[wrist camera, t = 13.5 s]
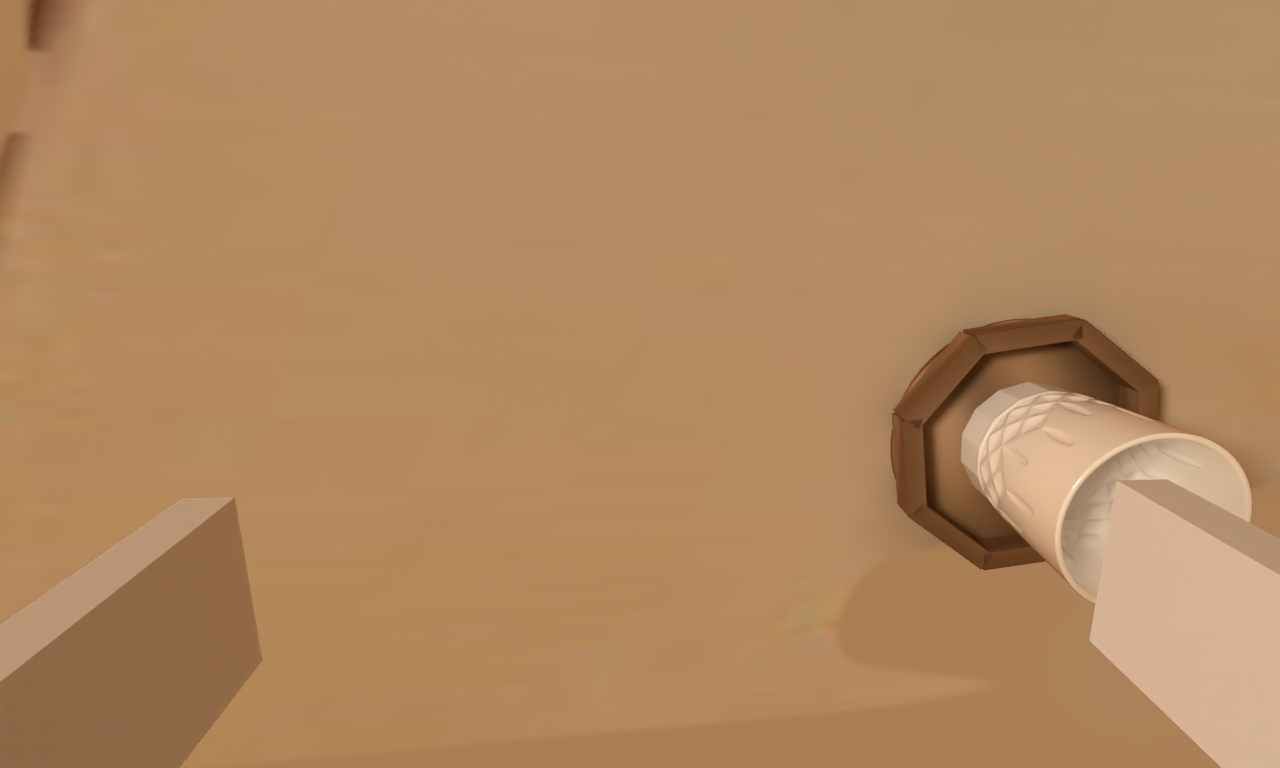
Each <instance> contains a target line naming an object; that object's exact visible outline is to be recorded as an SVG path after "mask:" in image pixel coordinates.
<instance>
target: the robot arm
mask: <svg viewBox="0 0 1280 768" xmlns="http://www.w3.org/2000/svg"><path fill="white" fill-rule="evenodd" d="M1089 641H1090V642H1091V643H1092V644H1094V645H1095V646H1096V647H1097V648H1098V649H1099V650H1100V651H1101V652H1102V653H1103V654H1104V655H1105V656H1106V657H1107V658H1108V659H1109V660H1110V661H1111V662H1112V663H1113V664H1114V665H1115V666H1116V667H1118V669H1119V670H1121V671H1122V672H1123V673H1124V674H1125V675H1126V676H1127V677H1128V678H1129V679H1130V680H1131V681H1132V682H1133V683H1134V684H1135V685H1136V686H1137V687H1138V688H1139V689H1140V690H1141V691H1142V692H1144V693H1145V695H1147V696H1148V697H1149V698H1150V699H1151V700H1152V701H1153V702H1154V703H1155V704H1156V705H1157V706H1158V707H1159V708H1160V709H1161V710H1162V711H1163V712H1164V713H1165V714H1166V715H1167V716H1168V717H1169V718H1171V720H1173V721H1174V722H1175V723H1176V724H1177V725H1178V726H1179V727H1180V728H1181V729H1182V730H1183V731H1184V732H1185V733H1186V734H1187V735H1188V736H1189V737H1190V738H1191V739H1192V740H1193V741H1194V742H1195V743H1196V744H1198V745H1199V746H1200V747H1201V748H1202V749H1203V750H1204V751H1205V752H1206V753H1207V754H1208V755H1209V756H1210V757H1211V758H1212V759H1213V760H1214V761H1215V762H1216V763H1218V765H1219V766H1221V768H1280V539H1279V538H1277V537H1276V536H1274V535H1272V534H1270V533H1268V532H1266V531H1264V530H1262V529H1260V528H1258V527H1257V526H1255V525H1253V524H1251V523H1249V522H1247V521H1245V520H1243V519H1241V518H1240V517H1238V516H1236V515H1234V514H1232V513H1230V512H1228V511H1226V510H1224V509H1222V508H1221V507H1219V506H1217V505H1215V504H1213V503H1211V502H1209V501H1207V500H1205V499H1204V498H1202V497H1200V496H1198V495H1196V494H1194V493H1192V492H1190V491H1188V490H1186V489H1185V488H1183V487H1181V486H1179V485H1177V484H1175V483H1173V482H1171V481H1169V480H1168V479H1154V480H1117V482H1116V488H1115V494H1114V500H1113V506H1112V511H1111V517H1110V523H1109V529H1108V535H1107V540H1106V546H1105V552H1104V558H1103V564H1102V570H1101V575H1100V581H1099V587H1098V593H1097V599H1096V605H1095V611H1094V616H1093V623H1092V628H1091V634H1090V640H1089ZM261 661H262V656H261V650H260V644H259V638H258V632H257V626H256V621H255V615H254V609H253V603H252V597H251V591H250V585H249V579H248V573H247V567H246V562H245V556H244V550H243V544H242V538H241V532H240V526H239V520H238V514H237V509H236V503H235V498H186V499H181V500H179V501H178V502H176V503H175V504H173V505H172V506H170V507H169V508H168V509H166V510H165V511H163V512H162V513H160V514H159V515H158V516H156V517H155V518H153V519H152V520H150V521H149V522H147V523H146V524H145V525H143V526H142V527H140V528H139V529H137V530H136V531H134V532H133V533H132V534H130V535H129V536H127V537H126V538H124V539H123V540H122V541H120V542H119V543H117V544H116V545H114V546H113V547H111V548H110V549H109V550H107V551H106V552H104V553H103V554H101V555H100V556H98V557H97V558H96V559H94V560H93V561H91V562H90V563H88V564H87V565H86V566H84V567H83V568H81V569H80V570H78V571H77V572H75V573H74V574H73V575H71V576H70V577H68V578H67V579H65V580H64V581H63V582H61V583H60V584H58V585H57V586H55V587H54V588H52V589H51V590H50V591H48V592H47V593H45V594H44V595H42V596H41V597H39V598H38V599H37V600H35V601H34V602H32V603H31V604H29V605H28V606H27V607H25V608H24V609H22V610H21V611H19V612H18V613H16V614H15V615H14V616H12V617H11V618H9V619H8V620H6V621H5V622H3V623H2V624H1V625H0V768H180V766H181V765H182V764H183V762H184V761H185V760H186V759H187V757H188V756H189V755H190V753H191V752H192V751H193V750H194V748H195V747H196V746H197V744H198V743H199V742H200V740H201V739H202V738H203V737H204V735H205V734H206V733H207V731H208V730H209V729H210V727H211V726H212V725H213V724H214V722H215V721H216V720H217V718H218V717H219V716H220V714H221V713H222V712H223V711H224V709H225V708H226V707H227V705H228V704H229V703H230V701H231V700H232V699H233V698H234V696H235V695H236V694H237V692H238V691H239V690H240V689H241V687H242V686H243V685H244V683H245V682H246V681H247V679H248V678H249V677H250V676H251V674H252V673H253V672H254V670H255V669H256V668H257V666H258V665H259V664H260V663H261Z"/></svg>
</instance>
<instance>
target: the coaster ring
mask: <svg viewBox="0 0 1280 768" xmlns="http://www.w3.org/2000/svg"><path fill="white" fill-rule="evenodd" d="M1157 381H1158V380H1157V379H1156V378H1155V377H1154V376H1152V375H1151V374H1150V373H1149V372H1148V371H1146V370H1145V369H1144V368H1143V367H1142V366H1140V365H1139V364H1138V363H1137V362H1136V361H1134V360H1133V359H1132V358H1131V357H1130V356H1128V355H1127V354H1126V353H1125V352H1124V351H1122V350H1121V349H1120V348H1119V347H1118V346H1116V345H1115V344H1114V343H1113V342H1112V341H1110V340H1109V339H1108V338H1107V337H1106V336H1104V335H1103V334H1102V333H1101V332H1100V331H1099V330H1097V329H1096V328H1095V327H1094V326H1093V325H1091V324H1090V323H1089V322H1088V321H1087V320H1084V319H1080V318H1077V317H1073V316H1069V315H1066V314H1063V315H1057V316H1050V317H1043V318H1037V319H1014V320H1006V321H1001V322H996V323H992V324H989V325H986V326H983V327H978V328H972V329H965V330H963V332H959V333H958V335H957V336H956V337H955V338H954V339H953V340H952V342H951V343H950V344H948V345H947V346H945V347H944V348H943V349H942V350H940V351H939V352H938V353H937V354H936V355H934V356H933V357H932V358H931V359H930V360H929V361H928V362H927V363H926V364H925V365H924V367H923V368H922V369H921V370H920V371H919V373H918V374H917V375H916V377H915V378H914V379H913V381H912V382H911V384H910V385H909V387H908V389H907V390H906V392H905V394H904V396H903V398H902V400H901V401H900V403H899V404H898V405H897V406H896V407H895V408H894V410H893V411H895V412H896V413H892V423H893V429H892V436H891V460H892V468H893V472H894V476H895V479H896V486H897V502H898V504H899V506H900V507H901V509H902V510H903V511H904V512H905V513H906V514H907V515H908V517H909V518H911V519H912V520H913V521H915V522H916V523H917V524H919V525H920V526H922V527H923V528H924V529H926V530H927V531H929V532H930V533H931V534H933V535H934V536H935V537H937V538H938V539H940V540H941V541H942V542H944V543H945V544H947V545H948V546H949V547H951V548H952V549H953V550H955V551H956V552H958V553H959V554H960V555H962V556H963V557H965V558H966V559H967V560H969V561H970V562H971V563H973V564H974V565H976V566H977V567H978V568H980V569H983V570H989V569H996V568H1003V567H1010V566H1016V565H1023V564H1030V563H1037V562H1043V561H1045V560H1044V559H1043V558H1042V557H1041V556H1040V555H1039V554H1038V553H1037V552H1036V551H1035V550H1034V549H1033V548H1032V547H1031V546H1030V545H1029V544H1028V543H1027V542H1026V541H1025V540H1024V539H1023V538H1022V537H1021V536H1020V535H1019V534H1018V533H1017V532H1016V531H1015V530H1014V528H1013V527H1012V526H1011V525H1010V524H1009V523H1008V522H1007V521H1006V520H1005V519H1004V518H1003V517H1002V516H1001V515H1000V514H999V513H998V511H997V510H996V509H995V508H994V506H993V505H992V504H991V503H990V501H989V500H988V499H987V498H986V497H985V496H984V495H983V494H982V493H981V492H980V491H979V490H978V489H976V488H975V487H974V486H973V485H972V483H971V481H970V479H969V477H968V475H967V473H966V471H965V469H964V467H963V465H962V463H961V442H962V433H963V431H964V429H965V427H966V425H967V424H968V422H969V420H970V418H971V416H972V414H973V412H974V410H975V409H976V408H977V407H978V406H980V405H981V404H982V403H983V402H985V401H986V400H987V399H988V398H989V397H991V396H992V395H993V394H994V393H996V392H997V391H998V390H1001V389H1004V388H1008V387H1011V386H1014V385H1018V384H1021V383H1025V382H1033V383H1039V384H1046V385H1053V386H1057V387H1060V388H1063V389H1065V390H1068V391H1070V392H1073V393H1078V394H1082V395H1085V396H1089V397H1092V398H1095V399H1098V400H1101V401H1103V402H1106V403H1109V404H1112V405H1115V406H1118V407H1122V408H1125V409H1127V410H1130V411H1133V412H1135V413H1138V414H1141V415H1143V416H1146V417H1149V418H1151V419H1154V420H1157V421H1158V411H1159V385H1160V383H1158V382H1157Z"/></svg>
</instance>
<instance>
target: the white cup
mask: <svg viewBox="0 0 1280 768" xmlns="http://www.w3.org/2000/svg"><path fill="white" fill-rule="evenodd" d="M961 463H962V465H963V467H964V469H965V471H966V473H967V475H968V477H969V479H970V481H971V483H972V485H973V486H974V487H975V488H976V489H978V490H979V491H980V492H981V493H982V494H983V495H984V496H985V497H986V498H987V499H988V500H989V501H990V503H991V504H992V505H993V506H994V508H995V509H996V510H997V511H998V513H999V514H1000V515H1001V516H1002V517H1003V518H1004V519H1005V520H1006V521H1007V522H1008V523H1009V524H1010V525H1011V526H1012V527H1013V528H1014V530H1015V531H1016V532H1017V533H1018V534H1019V535H1020V536H1021V537H1022V538H1023V539H1024V540H1025V541H1026V542H1027V543H1028V544H1029V545H1030V546H1031V547H1032V548H1033V549H1034V550H1035V551H1036V552H1037V553H1038V554H1039V555H1040V556H1041V557H1042V558H1043V559H1044V560H1045V561H1046V562H1047V563H1049V565H1051V566H1052V567H1053V568H1054V569H1055V570H1056V571H1057V572H1058V573H1059V574H1060V575H1061V576H1062V577H1063V578H1064V579H1065V580H1066V581H1067V582H1068V583H1069V584H1070V585H1071V586H1072V587H1073V588H1074V589H1075V590H1076V591H1077V592H1078V593H1079V594H1080V595H1082V596H1083V597H1084V598H1085V599H1087V600H1089V601H1090V602H1092V603H1094V604H1096V599H1097V593H1098V587H1099V581H1100V575H1101V570H1102V564H1103V558H1104V552H1105V546H1106V540H1107V535H1108V529H1109V523H1110V517H1111V511H1112V506H1113V500H1114V494H1115V488H1116V482H1117V480H1154V479H1168V480H1169V481H1171V482H1173V483H1175V484H1177V485H1179V486H1181V487H1183V488H1185V489H1186V490H1188V491H1190V492H1192V493H1194V494H1196V495H1198V496H1200V497H1202V498H1204V499H1205V500H1207V501H1209V502H1211V503H1213V504H1215V505H1217V506H1219V507H1221V508H1222V509H1224V510H1226V511H1228V512H1230V513H1232V514H1234V515H1236V516H1238V517H1240V518H1241V519H1243V520H1245V521H1247V522H1249V523H1251V517H1252V494H1251V489H1250V485H1249V482H1248V479H1247V476H1246V474H1245V472H1244V470H1243V469H1242V467H1241V465H1240V464H1239V463H1238V461H1237V460H1236V459H1235V458H1234V457H1233V456H1232V455H1231V454H1230V453H1229V452H1228V451H1227V450H1225V449H1224V448H1223V447H1221V446H1220V445H1218V444H1216V443H1215V442H1213V441H1211V440H1208V439H1206V438H1203V437H1200V436H1198V435H1195V434H1192V433H1189V432H1187V431H1184V430H1181V429H1178V428H1176V427H1173V426H1170V425H1168V424H1165V423H1162V422H1159V421H1157V420H1154V419H1151V418H1149V417H1146V416H1143V415H1141V414H1138V413H1135V412H1133V411H1130V410H1127V409H1125V408H1122V407H1118V406H1115V405H1112V404H1109V403H1106V402H1103V401H1101V400H1098V399H1095V398H1092V397H1089V396H1085V395H1082V394H1078V393H1073V392H1070V391H1068V390H1065V389H1063V388H1060V387H1057V386H1053V385H1046V384H1039V383H1033V382H1025V383H1021V384H1018V385H1014V386H1011V387H1008V388H1004V389H1001V390H998V391H997V392H996V393H994V394H993V395H992V396H991V397H989V398H988V399H987V400H986V401H985V402H983V403H982V404H981V405H980V406H978V407H977V408H976V409H975V410H974V412H973V414H972V416H971V418H970V420H969V422H968V424H967V425H966V427H965V429H964V431H963V433H962V442H961Z"/></svg>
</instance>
